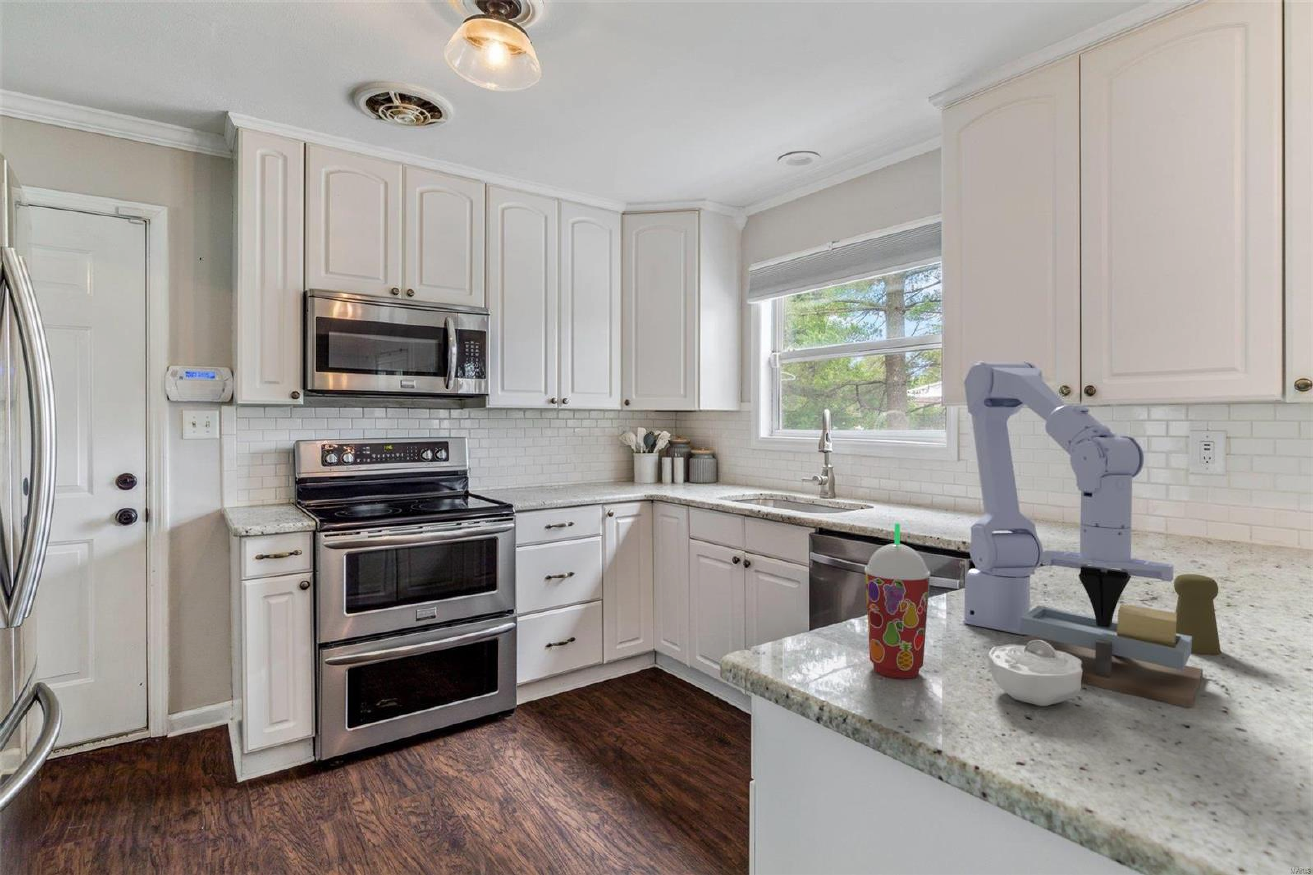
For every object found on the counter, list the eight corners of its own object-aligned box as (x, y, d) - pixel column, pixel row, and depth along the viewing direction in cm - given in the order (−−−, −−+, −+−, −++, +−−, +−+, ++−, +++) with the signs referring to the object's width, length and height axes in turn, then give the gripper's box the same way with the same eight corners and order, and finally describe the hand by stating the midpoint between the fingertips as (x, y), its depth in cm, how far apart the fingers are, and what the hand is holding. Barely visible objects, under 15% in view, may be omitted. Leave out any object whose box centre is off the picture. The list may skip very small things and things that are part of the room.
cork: (1231, 656, 96) (1232, 580, 96) (1183, 653, 97) (1184, 578, 97) (1205, 643, 102) (1206, 571, 102) (1161, 640, 103) (1162, 570, 103)
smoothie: (927, 664, 92) (928, 521, 92) (931, 686, 84) (932, 529, 84) (864, 657, 95) (865, 518, 94) (862, 678, 87) (863, 526, 87)
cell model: (968, 698, 81) (969, 642, 81) (1014, 675, 88) (1014, 625, 88) (1058, 728, 73) (1059, 666, 73) (1100, 701, 80) (1101, 645, 80)
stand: (1006, 665, 92) (1006, 626, 92) (1034, 642, 102) (1035, 607, 102) (1190, 708, 78) (1191, 662, 78) (1202, 676, 88) (1203, 636, 88)
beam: (1019, 633, 93) (1020, 618, 93) (1038, 619, 100) (1039, 605, 99) (1182, 671, 80) (1183, 653, 80) (1191, 652, 87) (1192, 636, 87)
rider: (1116, 641, 87) (1118, 611, 87) (1119, 632, 91) (1120, 603, 91) (1174, 653, 83) (1176, 621, 83) (1174, 643, 87) (1176, 612, 87)
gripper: (1037, 522, 92) (1036, 620, 92) (1168, 534, 82) (1167, 644, 82) (1050, 518, 97) (1049, 610, 97) (1176, 528, 87) (1174, 632, 87)
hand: (1104, 625), depth 90 cm, fingers closed
